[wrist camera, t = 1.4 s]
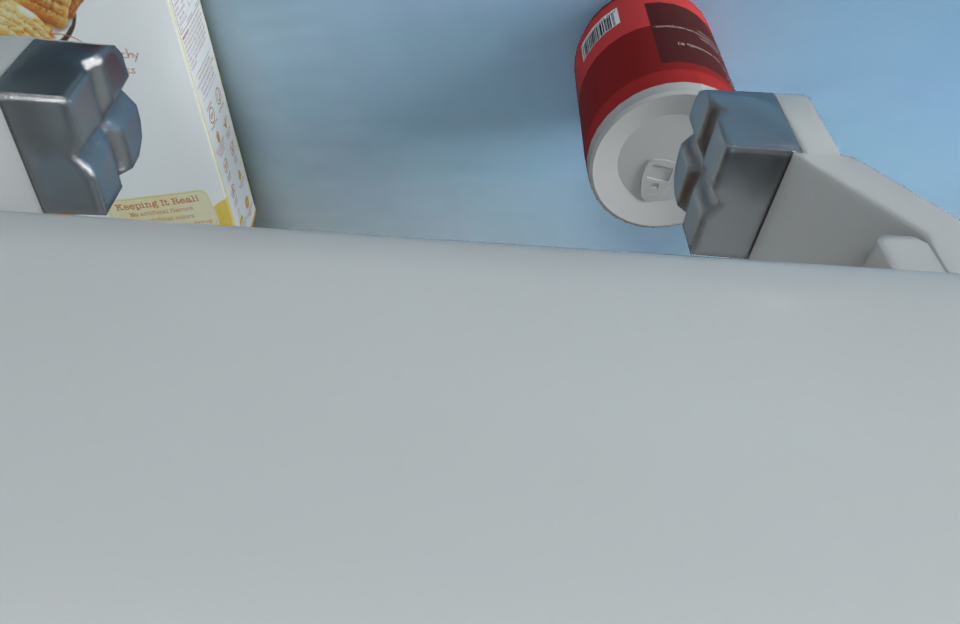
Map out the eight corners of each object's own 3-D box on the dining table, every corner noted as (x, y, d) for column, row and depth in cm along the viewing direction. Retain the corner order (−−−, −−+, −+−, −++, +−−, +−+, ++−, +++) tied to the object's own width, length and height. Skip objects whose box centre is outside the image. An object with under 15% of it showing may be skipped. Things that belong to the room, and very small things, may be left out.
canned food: (571, 115, 48) (584, 231, 40) (575, -14, 42) (591, 92, 34) (698, 110, 47) (736, 227, 40) (719, -22, 42) (768, 85, 34)
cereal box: (-66, 268, 50) (-450, -271, 30) (-27, 213, 54) (-344, -297, 34) (248, 263, 50) (74, -286, 30) (265, 208, 54) (121, -310, 34)
